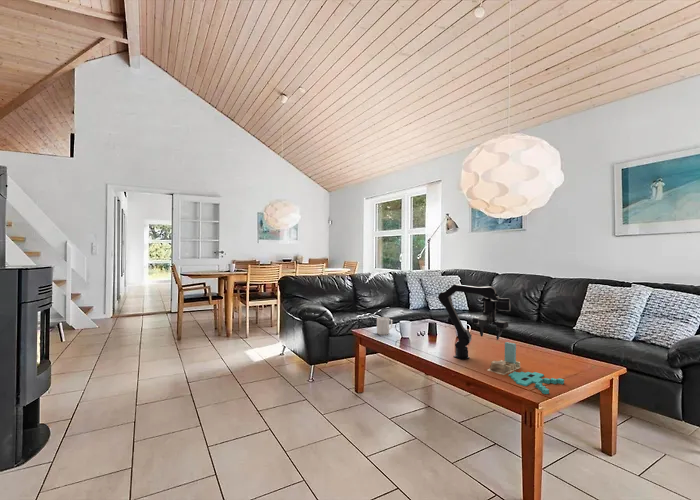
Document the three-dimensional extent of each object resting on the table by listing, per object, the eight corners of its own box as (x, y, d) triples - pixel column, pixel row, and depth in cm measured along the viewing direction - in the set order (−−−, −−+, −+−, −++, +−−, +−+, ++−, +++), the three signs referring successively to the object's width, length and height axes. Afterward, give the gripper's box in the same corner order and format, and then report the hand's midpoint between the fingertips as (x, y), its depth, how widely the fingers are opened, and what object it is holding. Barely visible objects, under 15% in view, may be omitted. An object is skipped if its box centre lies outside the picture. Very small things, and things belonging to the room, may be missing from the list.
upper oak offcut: (491, 366, 186) (491, 362, 186) (494, 364, 189) (494, 360, 189) (503, 369, 182) (503, 365, 182) (506, 367, 185) (506, 363, 185)
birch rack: (486, 371, 186) (486, 365, 186) (504, 364, 198) (504, 358, 198) (503, 376, 179) (503, 369, 179) (521, 369, 191) (521, 362, 191)
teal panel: (504, 365, 194) (504, 342, 194) (506, 364, 195) (506, 341, 195) (513, 367, 190) (514, 344, 190) (515, 367, 191) (516, 343, 191)
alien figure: (564, 384, 172) (520, 372, 187) (564, 379, 172) (520, 368, 187) (547, 395, 159) (501, 382, 174) (547, 390, 159) (501, 377, 174)
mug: (380, 335, 258) (380, 320, 258) (374, 333, 266) (374, 317, 266) (395, 334, 264) (395, 318, 264) (388, 331, 272) (388, 316, 272)
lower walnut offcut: (490, 369, 187) (490, 365, 187) (494, 368, 189) (494, 364, 189) (503, 373, 181) (503, 369, 181) (507, 371, 184) (507, 367, 184)
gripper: (466, 308, 204) (466, 337, 205) (498, 313, 190) (498, 344, 190) (477, 306, 212) (477, 333, 212) (509, 311, 197) (508, 340, 197)
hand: (489, 338), depth 203 cm, fingers open, 9 cm apart
